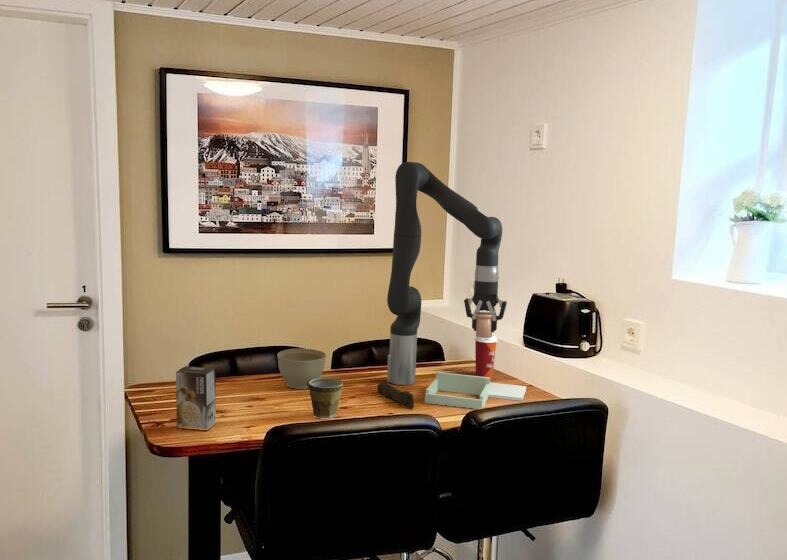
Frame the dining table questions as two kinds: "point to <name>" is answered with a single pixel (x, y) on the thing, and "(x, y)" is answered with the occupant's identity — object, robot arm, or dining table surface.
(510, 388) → the pale green square plate
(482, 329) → the lidded jar
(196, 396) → the coffee box
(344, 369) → the dining table surface
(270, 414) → the dining table surface
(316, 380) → the ceramic cup
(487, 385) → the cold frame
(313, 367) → the planter bowl
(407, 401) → the hand tool
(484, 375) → the coffee cup
